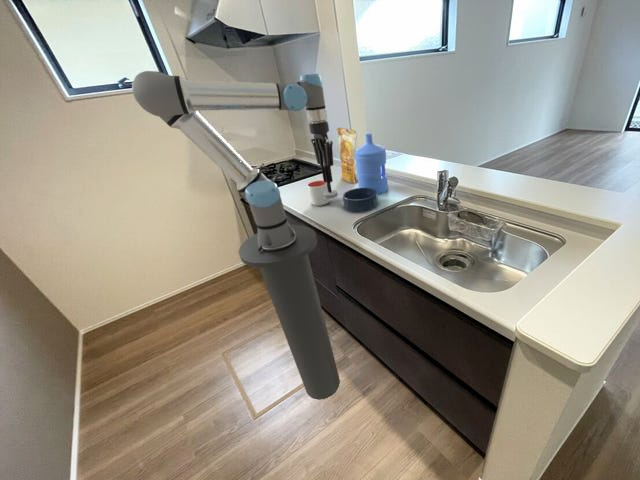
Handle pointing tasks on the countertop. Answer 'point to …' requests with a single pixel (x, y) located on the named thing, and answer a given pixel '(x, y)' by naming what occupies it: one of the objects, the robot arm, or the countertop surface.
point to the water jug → (371, 166)
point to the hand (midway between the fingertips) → (328, 181)
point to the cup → (318, 193)
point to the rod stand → (329, 190)
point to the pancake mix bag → (347, 153)
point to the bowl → (360, 200)
